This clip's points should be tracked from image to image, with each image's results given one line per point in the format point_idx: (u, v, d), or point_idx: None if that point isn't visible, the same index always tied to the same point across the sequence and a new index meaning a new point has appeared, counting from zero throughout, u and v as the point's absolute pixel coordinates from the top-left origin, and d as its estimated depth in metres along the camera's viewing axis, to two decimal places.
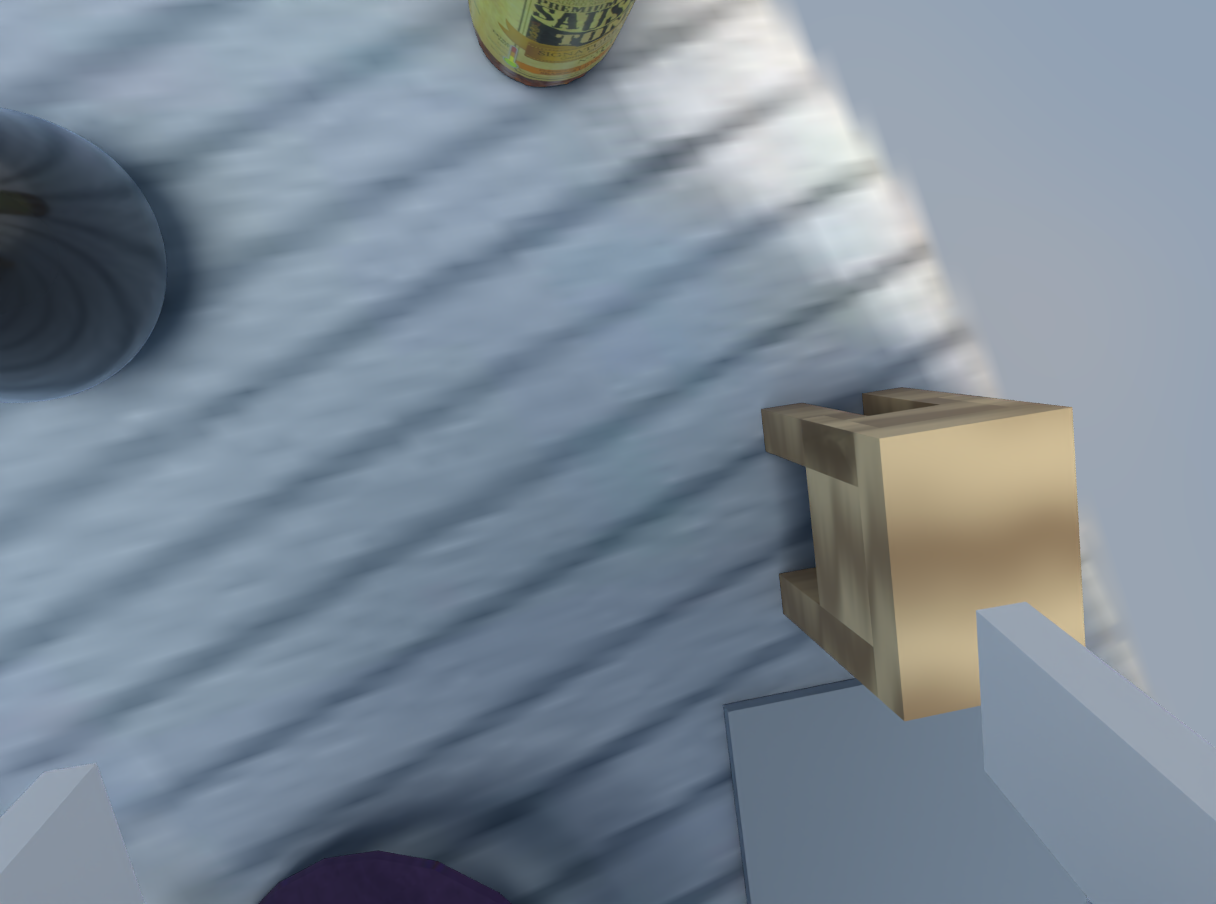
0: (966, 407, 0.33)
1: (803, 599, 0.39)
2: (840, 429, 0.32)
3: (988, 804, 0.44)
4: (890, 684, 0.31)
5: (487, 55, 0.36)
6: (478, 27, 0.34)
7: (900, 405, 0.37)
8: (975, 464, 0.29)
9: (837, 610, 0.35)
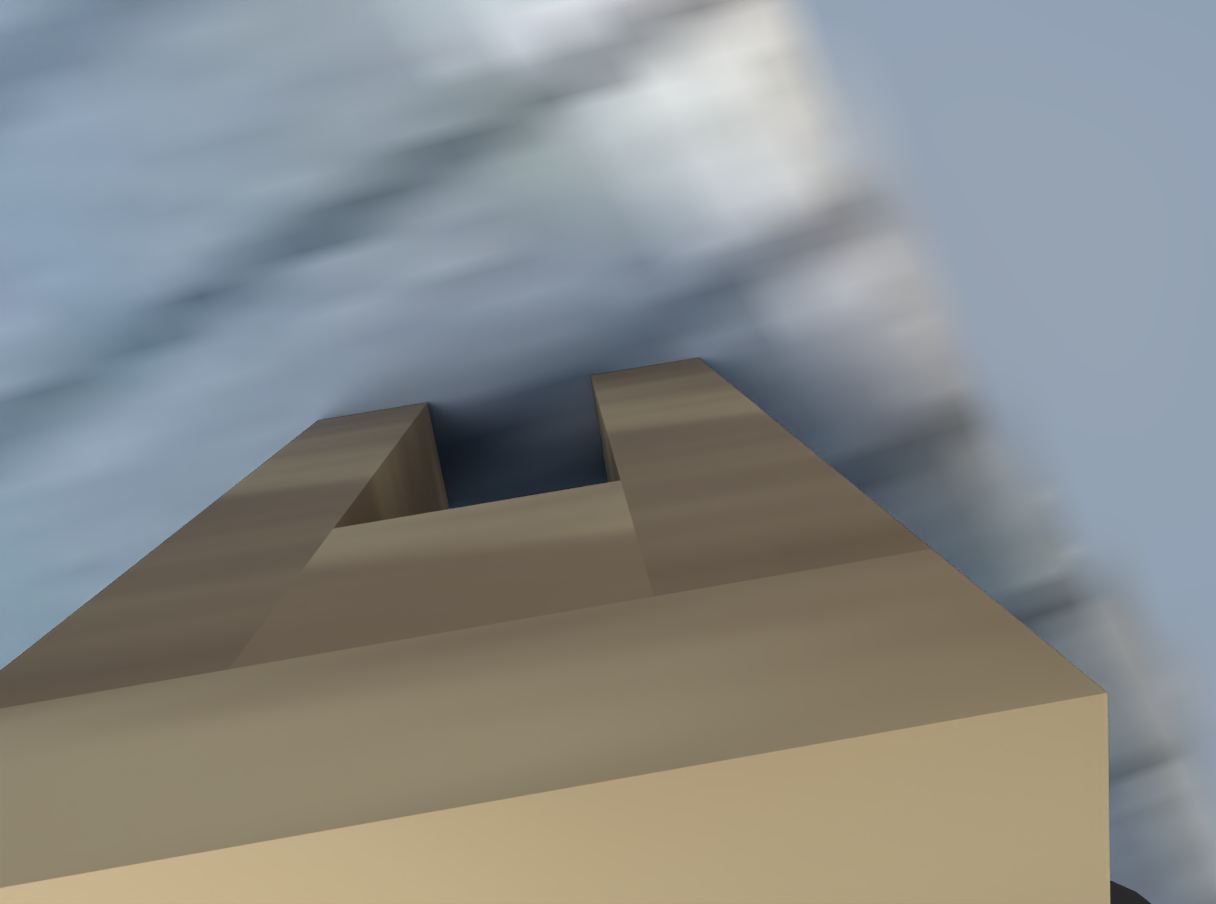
0: (652, 528, 0.07)
1: None
2: (34, 648, 0.07)
3: None
4: None
5: None
6: None
7: (605, 436, 0.12)
8: None
9: None
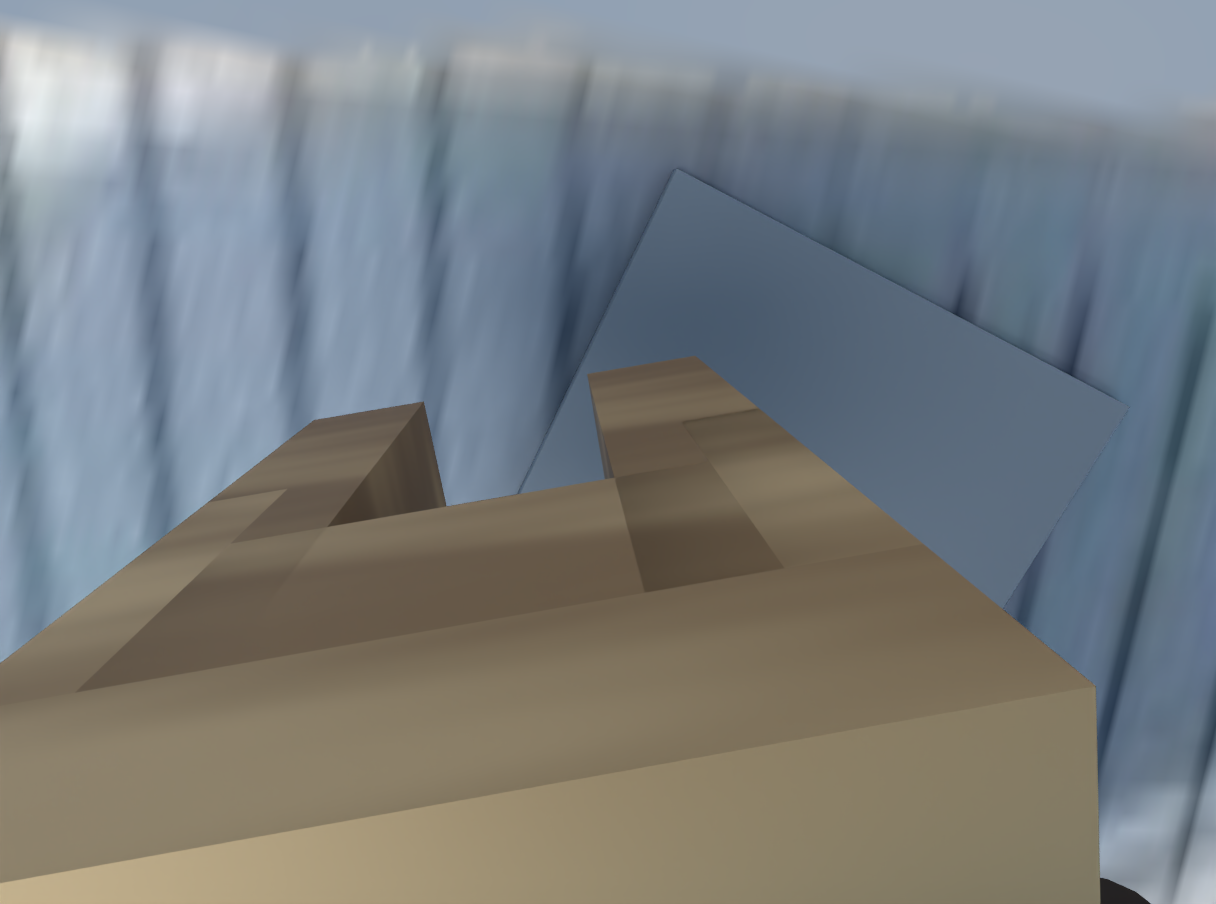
0: (645, 525, 0.07)
1: None
2: (26, 647, 0.07)
3: (807, 413, 0.30)
4: None
5: None
6: None
7: (600, 434, 0.12)
8: None
9: None
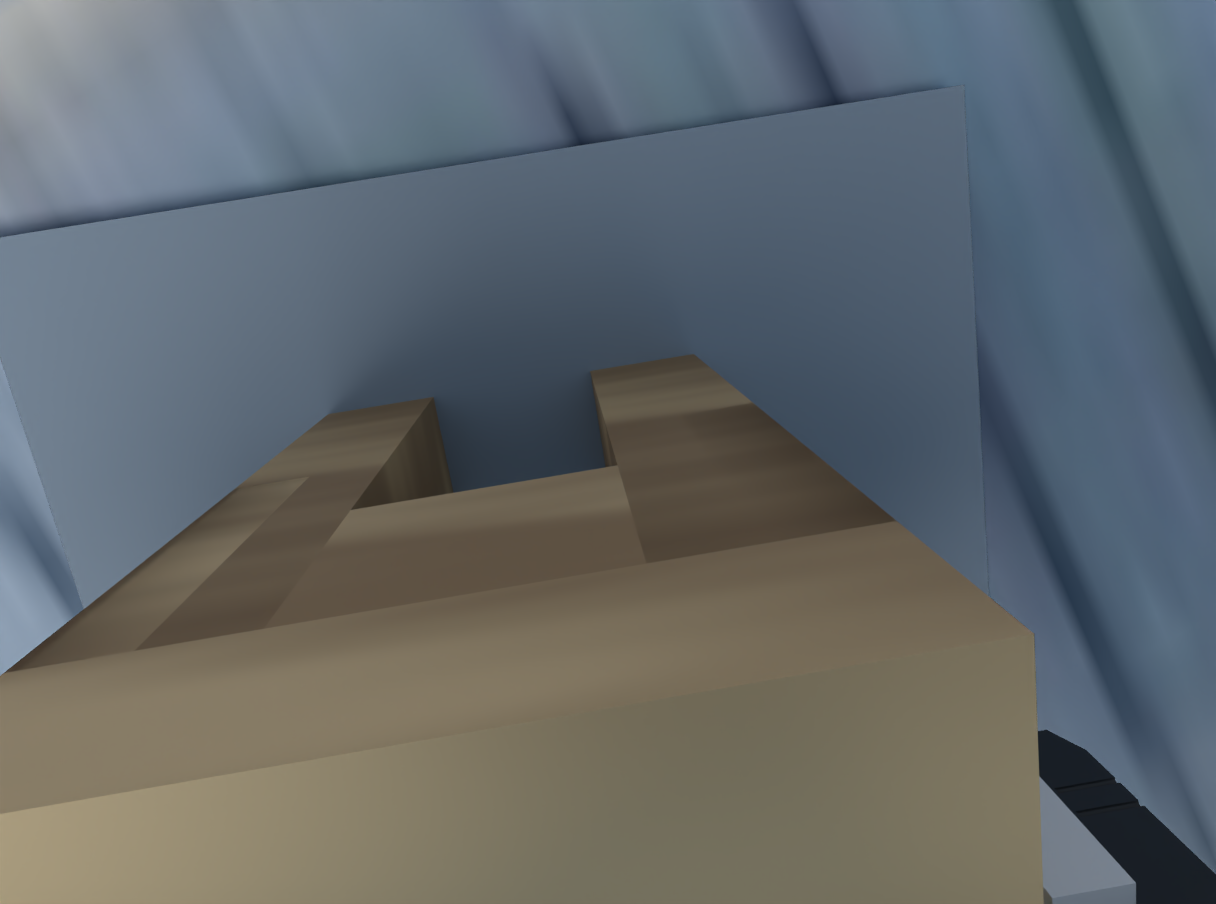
0: (646, 506, 0.08)
1: None
2: (81, 614, 0.08)
3: (454, 450, 0.17)
4: None
5: None
6: None
7: (603, 427, 0.13)
8: None
9: None
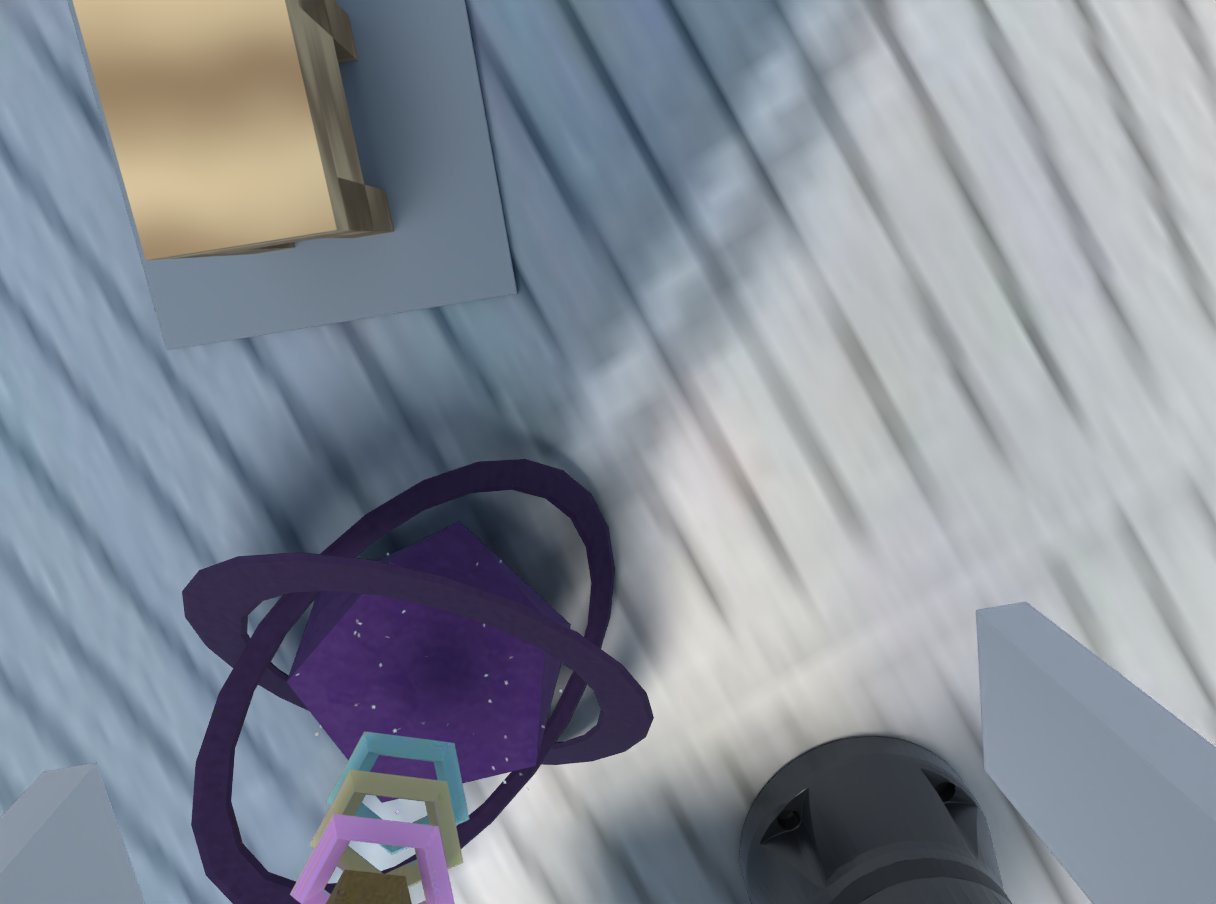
0: None
1: None
2: None
3: None
4: None
5: None
6: None
7: None
8: None
9: None
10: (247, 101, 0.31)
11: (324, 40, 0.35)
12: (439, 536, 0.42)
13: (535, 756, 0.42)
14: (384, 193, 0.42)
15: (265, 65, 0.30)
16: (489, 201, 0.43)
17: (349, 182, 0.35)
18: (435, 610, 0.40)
